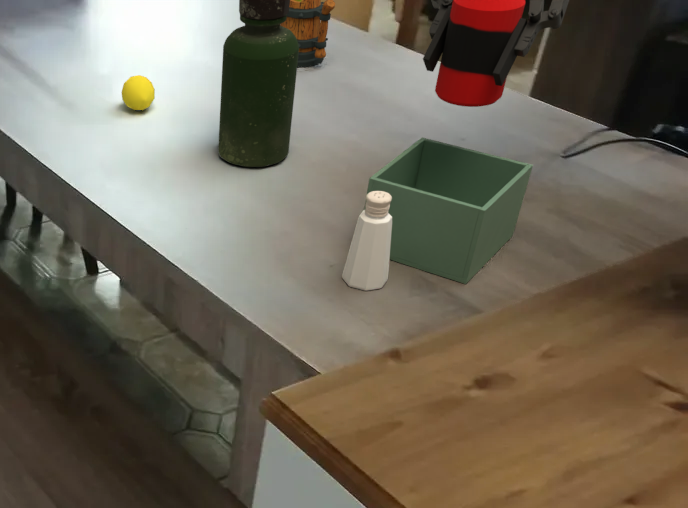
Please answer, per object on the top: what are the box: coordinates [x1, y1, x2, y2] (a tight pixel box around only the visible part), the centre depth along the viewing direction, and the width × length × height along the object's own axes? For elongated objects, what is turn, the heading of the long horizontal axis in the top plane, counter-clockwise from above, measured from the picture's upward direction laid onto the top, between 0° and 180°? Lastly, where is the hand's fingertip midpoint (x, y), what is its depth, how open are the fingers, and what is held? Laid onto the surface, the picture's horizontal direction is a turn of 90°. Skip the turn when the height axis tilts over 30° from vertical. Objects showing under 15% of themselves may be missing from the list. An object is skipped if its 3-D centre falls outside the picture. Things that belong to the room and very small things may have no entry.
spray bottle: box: [217, 0, 299, 168], centre depth 131 cm, size 10×10×25 cm
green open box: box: [363, 136, 534, 285], centre depth 114 cm, size 14×14×10 cm
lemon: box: [121, 74, 156, 111], centre depth 152 cm, size 7×5×5 cm
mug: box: [280, 0, 336, 69], centre depth 163 cm, size 13×10×12 cm
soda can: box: [434, 0, 526, 108], centre depth 106 cm, size 8×8×12 cm
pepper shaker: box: [341, 191, 392, 292], centre depth 108 cm, size 5×5×11 cm
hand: (462, 72), depth 106 cm, fingers closed on soda can, 7 cm apart
